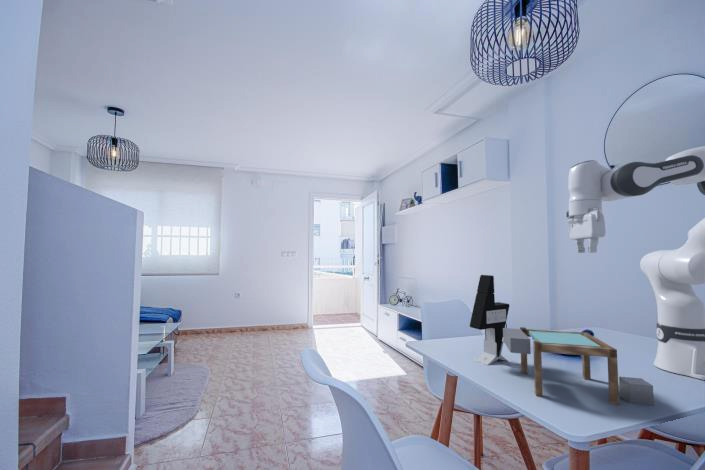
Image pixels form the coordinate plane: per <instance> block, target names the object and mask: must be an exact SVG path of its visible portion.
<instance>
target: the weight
mask: <svg viewBox="0 0 705 470" xmlns="http://www.w3.org/2000/svg"><path fill="white" fill-rule="evenodd" d="M618 388H619V397H621V398H622V399H624V400H625V401H626V402H627V403H628V404H631V405H641V406H649V407H654V406H655V398H654V385H652V384H651V383H649V382H648V381H646V380H645V379H643V378H641V377H639V378H638V377H628V376H618Z"/></svg>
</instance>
